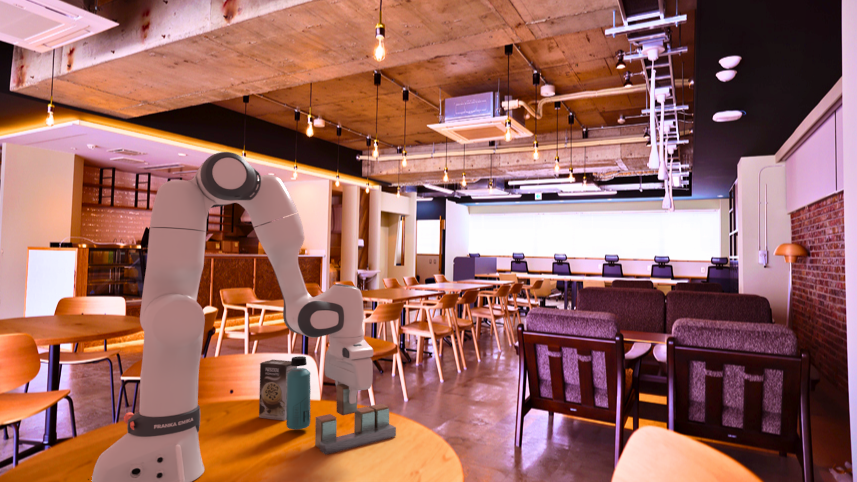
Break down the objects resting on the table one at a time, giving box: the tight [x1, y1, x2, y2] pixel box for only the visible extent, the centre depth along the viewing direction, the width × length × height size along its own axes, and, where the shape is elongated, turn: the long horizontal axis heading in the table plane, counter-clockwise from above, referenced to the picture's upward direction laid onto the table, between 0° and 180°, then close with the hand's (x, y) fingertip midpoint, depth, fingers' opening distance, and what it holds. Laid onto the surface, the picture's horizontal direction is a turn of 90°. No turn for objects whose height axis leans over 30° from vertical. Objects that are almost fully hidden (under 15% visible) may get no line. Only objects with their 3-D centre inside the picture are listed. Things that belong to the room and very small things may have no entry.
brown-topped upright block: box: [336, 384, 358, 416], centre depth 123 cm, size 4×4×7 cm
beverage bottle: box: [285, 355, 312, 430], centre depth 130 cm, size 6×7×20 cm
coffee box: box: [258, 359, 298, 421], centre depth 143 cm, size 9×6×16 cm
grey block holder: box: [314, 403, 397, 456], centre depth 122 cm, size 20×7×7 cm, turn 127°
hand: (346, 400), depth 123 cm, fingers closed on brown-topped upright block, 4 cm apart
